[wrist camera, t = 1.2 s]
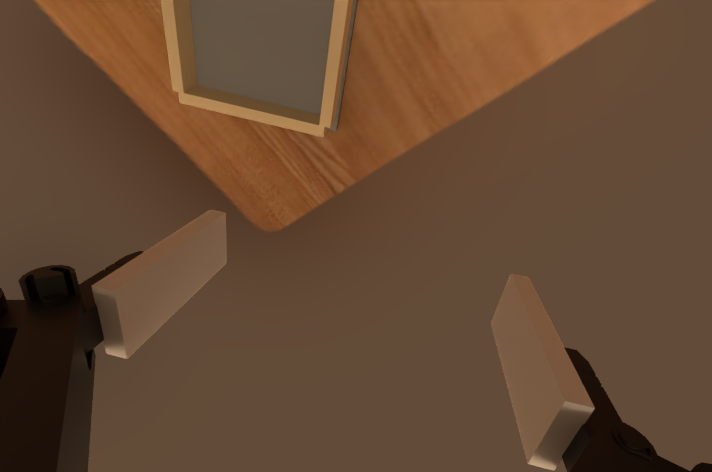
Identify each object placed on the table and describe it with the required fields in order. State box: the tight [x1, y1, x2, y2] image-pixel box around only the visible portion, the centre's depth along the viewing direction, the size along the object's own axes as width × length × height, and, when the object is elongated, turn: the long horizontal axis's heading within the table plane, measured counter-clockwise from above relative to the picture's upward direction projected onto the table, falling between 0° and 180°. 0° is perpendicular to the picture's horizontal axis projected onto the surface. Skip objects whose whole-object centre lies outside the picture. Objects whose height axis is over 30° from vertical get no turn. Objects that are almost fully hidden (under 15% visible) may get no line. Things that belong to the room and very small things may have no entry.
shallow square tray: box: [161, 0, 358, 137], centre depth 35 cm, size 18×18×4 cm
